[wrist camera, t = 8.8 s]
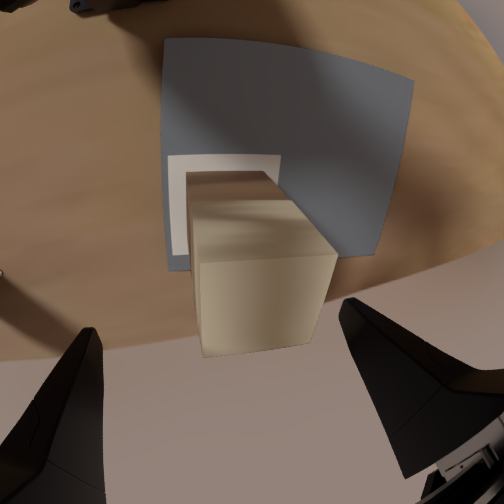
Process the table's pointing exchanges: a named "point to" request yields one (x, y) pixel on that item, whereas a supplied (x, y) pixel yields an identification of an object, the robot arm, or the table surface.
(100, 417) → the robot arm
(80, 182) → the table surface
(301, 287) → the birch block
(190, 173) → the walnut block
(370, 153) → the grey base plate
